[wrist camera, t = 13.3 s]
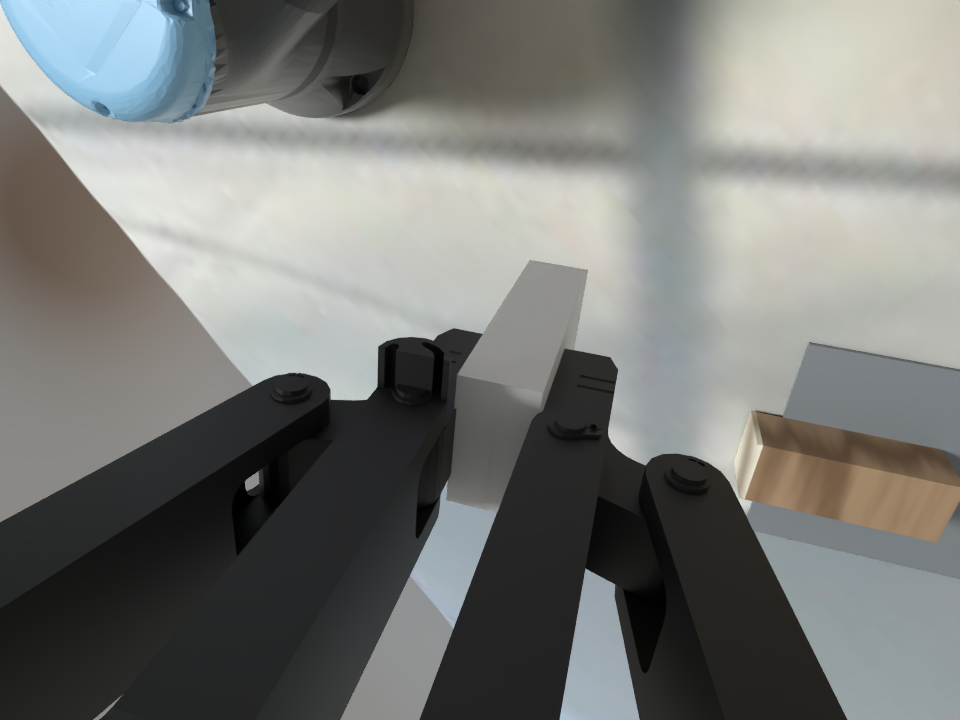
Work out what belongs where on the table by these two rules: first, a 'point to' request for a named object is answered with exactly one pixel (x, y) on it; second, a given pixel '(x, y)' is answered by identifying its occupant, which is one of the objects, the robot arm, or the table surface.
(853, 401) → the mat
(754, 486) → the walnut block
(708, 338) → the table surface
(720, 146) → the table surface
